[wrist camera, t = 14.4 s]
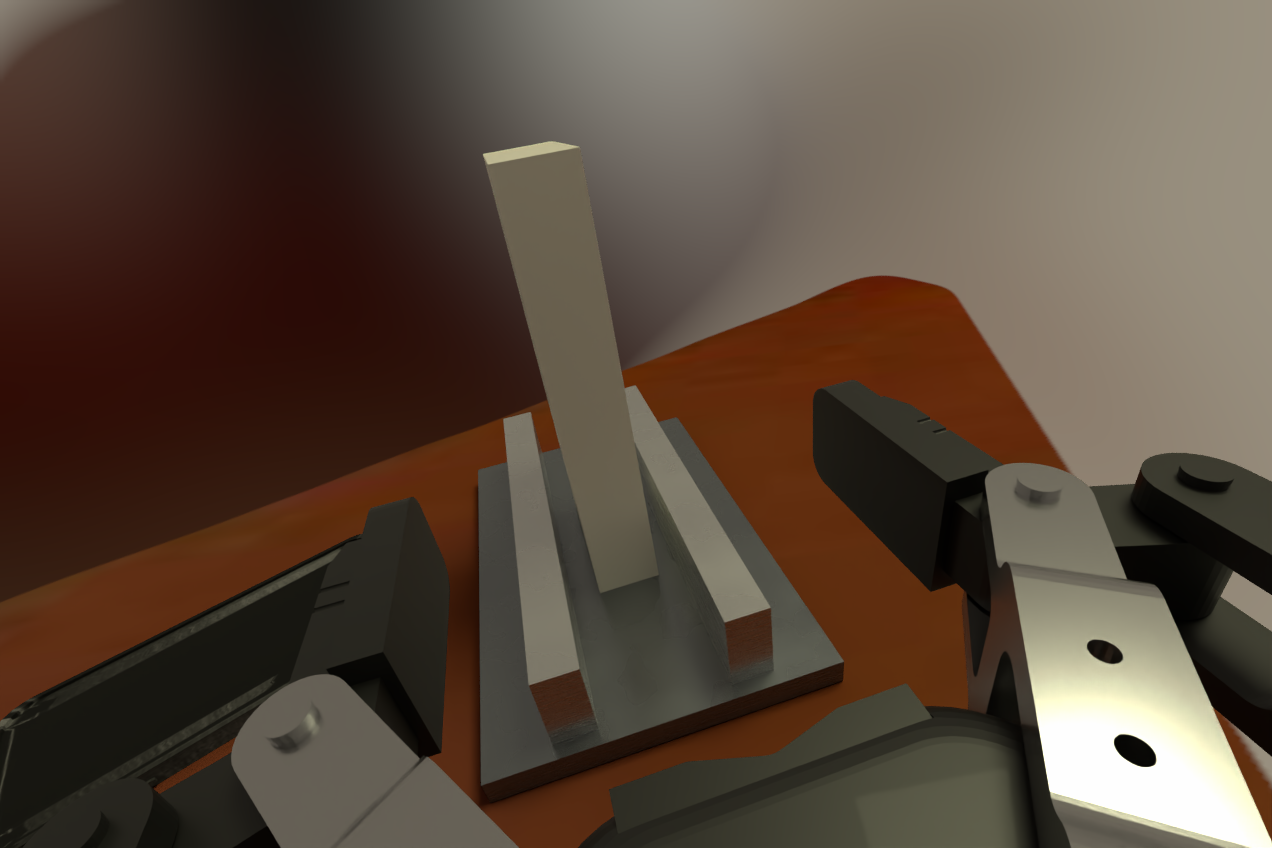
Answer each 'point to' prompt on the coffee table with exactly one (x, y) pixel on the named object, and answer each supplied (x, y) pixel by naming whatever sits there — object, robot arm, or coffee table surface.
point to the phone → (155, 701)
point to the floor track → (625, 615)
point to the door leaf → (576, 349)
